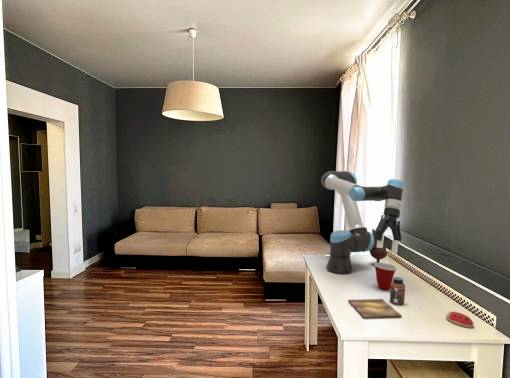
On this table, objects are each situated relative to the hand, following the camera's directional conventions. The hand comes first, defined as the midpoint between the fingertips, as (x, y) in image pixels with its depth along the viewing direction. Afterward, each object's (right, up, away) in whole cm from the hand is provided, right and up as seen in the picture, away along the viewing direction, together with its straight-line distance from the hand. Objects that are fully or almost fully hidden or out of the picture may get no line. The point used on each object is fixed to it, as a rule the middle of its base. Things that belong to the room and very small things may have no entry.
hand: (387, 250), depth 151 cm
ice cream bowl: (+13, -18, +43) cm, 49 cm away
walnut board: (-14, -21, -19) cm, 32 cm away
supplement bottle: (-1, -21, -12) cm, 25 cm away
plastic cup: (+1, -20, +5) cm, 21 cm away
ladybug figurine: (+16, -23, -30) cm, 41 cm away
